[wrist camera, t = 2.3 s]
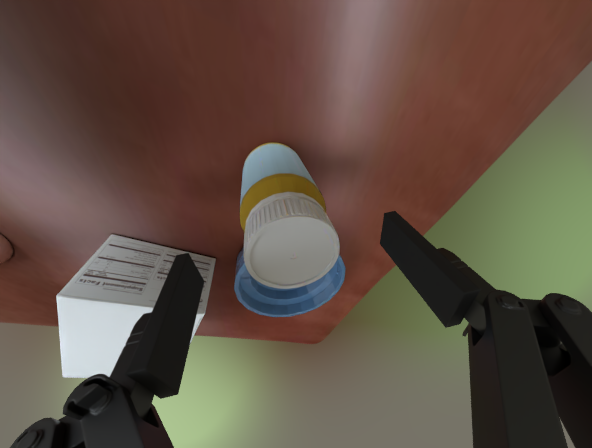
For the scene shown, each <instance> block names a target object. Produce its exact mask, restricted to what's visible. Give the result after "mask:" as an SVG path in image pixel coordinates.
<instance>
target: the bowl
mask: <svg viewBox="0 0 592 448" xmlns="http://www.w3.org/2000/svg"><path fill="white" fill-rule="evenodd" d="M243 254H244V247H243V248H242V250H241V252H240V253H239V255H238V257H237V262H236V269H235V282H234V290H235V293H236V296H237V298H238V300H239V301H240V302H241V303H242V304H243V305H244V306H245V307H246V308H247V309H249V310H251V311H253V312H255V313H257V314H260V315H265V316H271V317H289V316H294V315H299V314H304V313H306V312H309V311H311V310H314V309H316V308H318V307H320V306H321V305H323V304H324V303H326V302H327V301H329V300H330V299H331V298H332V297H333V296H334V295H335V294H336V293H337V292H338V291H339V289H340V287H341V285H342V283H343V281H344V278H345V266H344V263H343V260H342V258H341V256H340V254H339V256H338V258H337V261H336V262H335V264H334V266H333V267H332V268H331V269H330V270H329V271H328V272H327V273H326V274H325V275H324V276H323V277H321V278H320V279H318V280H316V281H315V282H313V283H310V284H308V285H305V286H302V287H297V288H290V289H280V288H273V287H269V286H266V285H264V284H262V283H260V282H258V281H257V280H255V279H254V278H253V277H252V276H251V275H250V273H249V272H248V270H247V268H246V265H245V261H244V257H243Z"/></svg>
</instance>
